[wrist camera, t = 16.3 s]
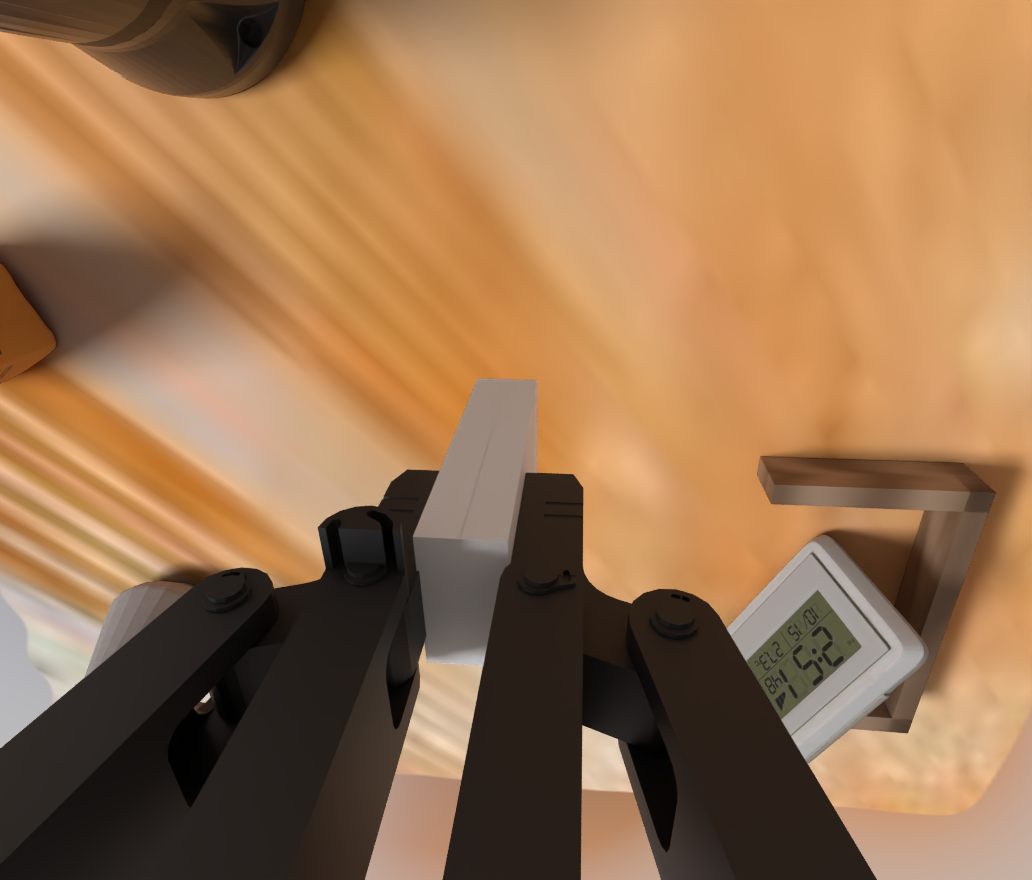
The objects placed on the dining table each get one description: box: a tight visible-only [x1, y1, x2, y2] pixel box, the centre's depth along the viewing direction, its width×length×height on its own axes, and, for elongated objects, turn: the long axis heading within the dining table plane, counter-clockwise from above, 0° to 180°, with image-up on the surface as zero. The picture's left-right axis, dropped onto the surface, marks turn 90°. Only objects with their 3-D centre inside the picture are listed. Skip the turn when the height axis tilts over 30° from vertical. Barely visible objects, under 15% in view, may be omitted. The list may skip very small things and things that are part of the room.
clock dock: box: [757, 457, 996, 733], centre depth 47 cm, size 14×22×4 cm, turn 1°
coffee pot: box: [85, 581, 205, 710], centre depth 50 cm, size 21×12×15 cm, turn 109°
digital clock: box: [727, 535, 929, 763], centre depth 46 cm, size 16×9×11 cm, turn 141°
